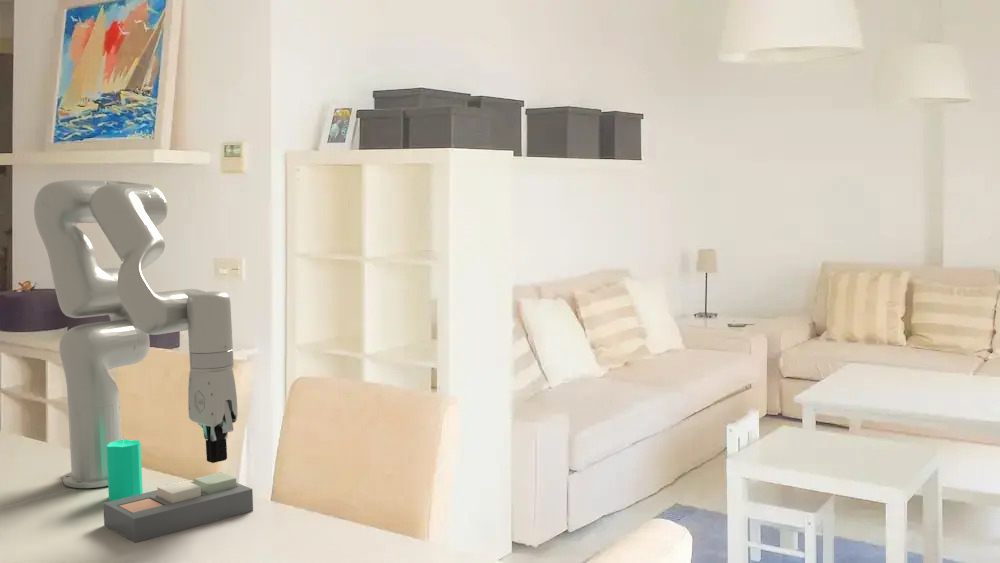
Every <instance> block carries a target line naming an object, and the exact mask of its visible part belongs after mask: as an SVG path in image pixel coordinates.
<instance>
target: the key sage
mask: <svg viewBox="0 0 1000 563" xmlns="http://www.w3.org/2000/svg"><path fill="white" fill-rule="evenodd" d="M193 482H194V484H195V485H198V486H200V487H201V491H202V492H205V493H207V494H212V493H216V492H220V491H224V490H228V489H232V488H236V483H237V477H235V476H232V475H230V474H226V473H224V472H222V471H221V472H217V473H212V474H208V475H203V476H199V477H196V478H193Z"/></svg>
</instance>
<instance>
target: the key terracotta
mask: <svg viewBox="0 0 1000 563" xmlns="http://www.w3.org/2000/svg"><path fill="white" fill-rule="evenodd" d="M159 506H163V505H162V504H160V503H158V502H156V501H154V500H151V499H145V500H140V501H136V502H132V503H128V504H124V505H120V506H119V507H121V508H123V509H125V510H127V511H129V512H131V513H135V512H139V511H143V510H147V509H151V508H155V507H159Z"/></svg>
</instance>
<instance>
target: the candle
mask: <svg viewBox="0 0 1000 563" xmlns="http://www.w3.org/2000/svg"><path fill="white" fill-rule="evenodd" d="M124 437H125V436H124V434H123V435H122V439H121V440H118V441H114V442H111V443H109V444H108V445H107V446H106V447H107V469H108V486H107V492H108V500H109V501H113V500H117V499H122V498H126V497H130V496H134V495H139V494H143V493H144V492H143V470H142V449H141V448H142V446H141V442H140V440H138V439H136V440H130V439H125V438H124Z"/></svg>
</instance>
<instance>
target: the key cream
mask: <svg viewBox="0 0 1000 563" xmlns="http://www.w3.org/2000/svg"><path fill="white" fill-rule="evenodd" d="M191 482H192V481H188V480H183V481H179V482H178V481H177V482H174V483H169V484H164V485H161V486H157V489H156V490H158V497H159V498H161V499H163V500H165V501H167V502H169V503H175V502H180V501H184V500H188V499H192V498H196V497H200V496H201V487H200V486H198V485H195V484H193V483H191Z"/></svg>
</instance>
